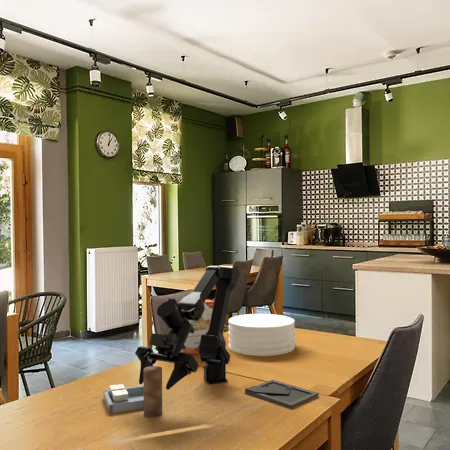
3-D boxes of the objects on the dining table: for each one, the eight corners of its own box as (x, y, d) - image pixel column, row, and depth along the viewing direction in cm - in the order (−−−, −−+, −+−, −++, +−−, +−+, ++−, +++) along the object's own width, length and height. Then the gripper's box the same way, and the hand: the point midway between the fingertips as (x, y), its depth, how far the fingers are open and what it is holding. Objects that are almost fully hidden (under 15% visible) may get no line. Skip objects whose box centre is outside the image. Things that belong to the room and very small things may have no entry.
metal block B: (126, 403, 136) (125, 389, 136) (128, 408, 132) (128, 393, 132) (111, 405, 135) (111, 391, 135) (114, 410, 131) (113, 395, 131)
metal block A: (123, 397, 141) (123, 383, 141) (125, 401, 137) (125, 388, 137) (109, 399, 139) (109, 385, 139) (111, 403, 135) (111, 390, 135)
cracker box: (183, 356, 186) (183, 303, 186) (178, 353, 191) (177, 301, 191) (215, 352, 192) (215, 300, 192) (209, 348, 198) (208, 298, 198)
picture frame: (244, 394, 145) (291, 410, 133) (244, 388, 145) (291, 403, 133) (272, 384, 155) (318, 398, 142) (272, 378, 155) (318, 391, 142)
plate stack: (215, 349, 197) (215, 322, 197) (250, 336, 220) (250, 311, 220) (274, 360, 181) (274, 330, 181) (305, 344, 204) (305, 317, 204)
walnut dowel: (159, 411, 132) (159, 365, 132) (164, 418, 127) (164, 370, 127) (142, 414, 130) (141, 367, 130) (146, 421, 125) (145, 372, 125)
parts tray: (150, 394, 145) (150, 384, 145) (159, 408, 134) (159, 397, 134) (103, 400, 140) (103, 390, 140) (109, 416, 129) (109, 405, 129)
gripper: (139, 318, 138) (112, 365, 128) (192, 324, 129) (168, 376, 119) (155, 339, 145) (131, 386, 135) (207, 347, 135) (186, 397, 126)
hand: (153, 386), depth 128 cm, fingers open, 9 cm apart
